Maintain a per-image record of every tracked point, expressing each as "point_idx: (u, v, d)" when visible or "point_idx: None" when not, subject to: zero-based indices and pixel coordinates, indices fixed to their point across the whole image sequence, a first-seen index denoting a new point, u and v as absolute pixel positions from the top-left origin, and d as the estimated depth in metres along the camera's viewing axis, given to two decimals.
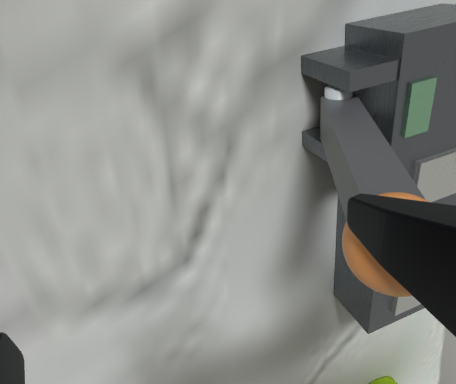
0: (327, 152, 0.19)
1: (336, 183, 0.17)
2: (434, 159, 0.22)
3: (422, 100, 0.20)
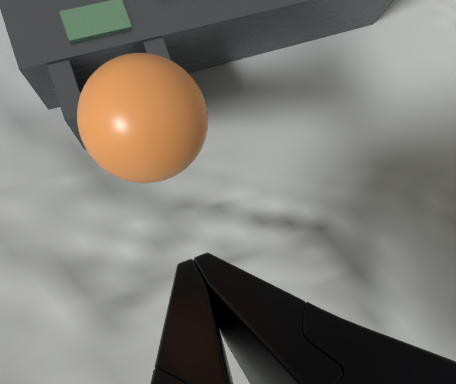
0: None
1: None
2: None
3: (86, 20, 0.18)
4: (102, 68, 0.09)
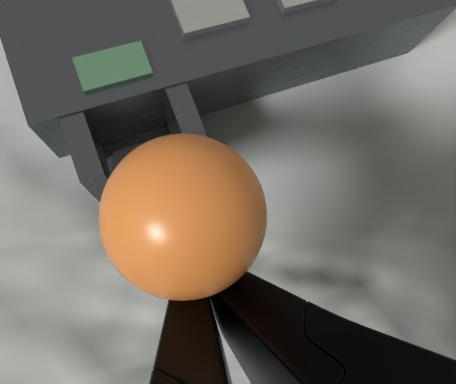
0: None
1: None
2: (177, 14, 0.17)
3: (102, 66, 0.16)
4: (133, 160, 0.06)
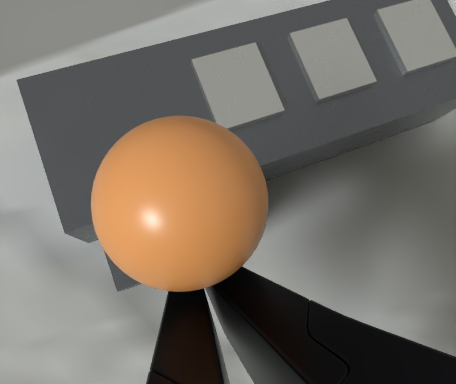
0: None
1: None
2: (212, 110, 0.17)
3: None
4: (124, 135, 0.07)
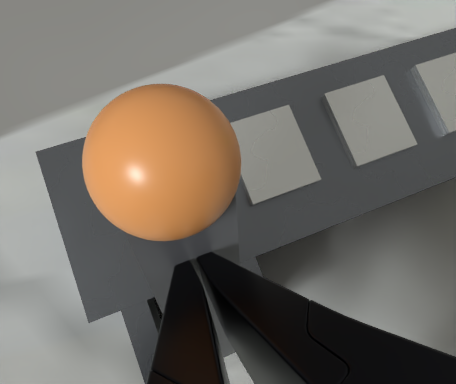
0: None
1: None
2: (244, 181, 0.16)
3: None
4: None
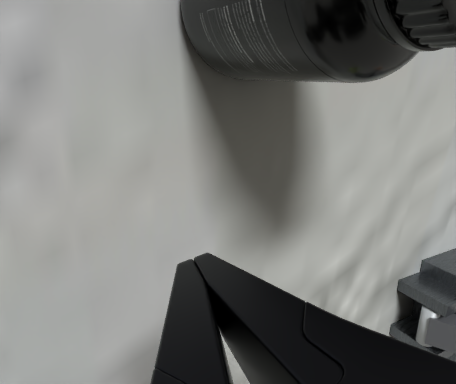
0: None
1: None
2: None
3: None
4: None
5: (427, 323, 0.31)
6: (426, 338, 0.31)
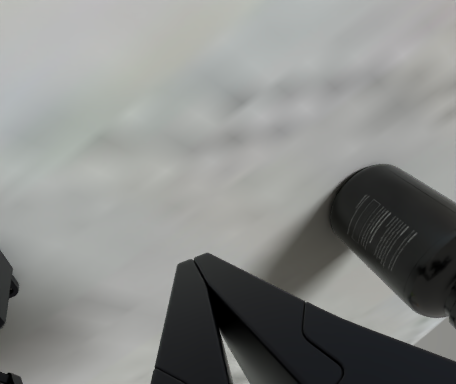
0: None
1: None
2: None
3: None
4: None
5: None
6: None
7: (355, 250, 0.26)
